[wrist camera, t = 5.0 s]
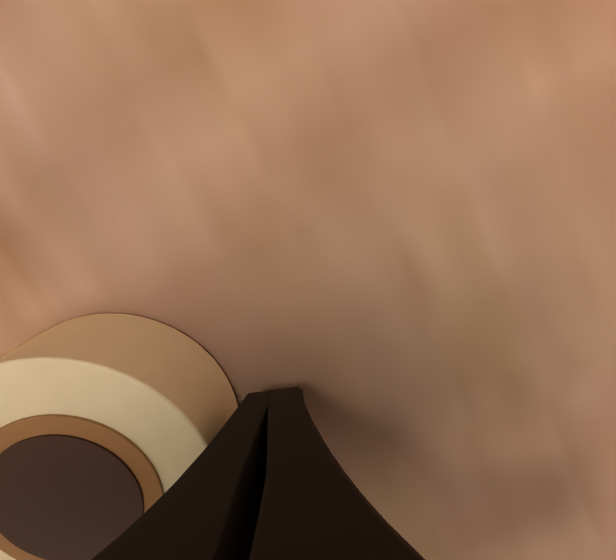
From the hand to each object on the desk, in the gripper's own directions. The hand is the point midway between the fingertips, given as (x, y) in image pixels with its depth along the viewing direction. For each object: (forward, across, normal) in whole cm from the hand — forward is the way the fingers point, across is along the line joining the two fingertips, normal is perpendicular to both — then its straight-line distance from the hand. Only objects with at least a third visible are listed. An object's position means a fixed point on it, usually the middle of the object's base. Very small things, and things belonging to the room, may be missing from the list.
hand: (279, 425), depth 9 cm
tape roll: (+1, +4, 0) cm, 5 cm away
